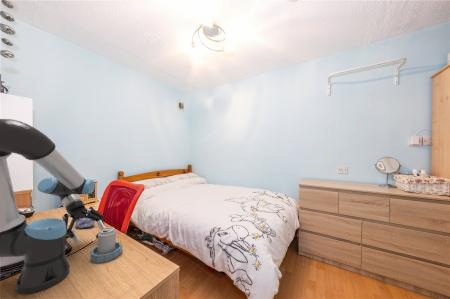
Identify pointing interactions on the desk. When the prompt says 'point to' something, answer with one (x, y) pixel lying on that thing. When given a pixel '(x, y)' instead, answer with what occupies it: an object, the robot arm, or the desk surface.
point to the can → (106, 240)
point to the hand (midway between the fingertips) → (91, 236)
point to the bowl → (105, 257)
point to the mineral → (84, 222)
